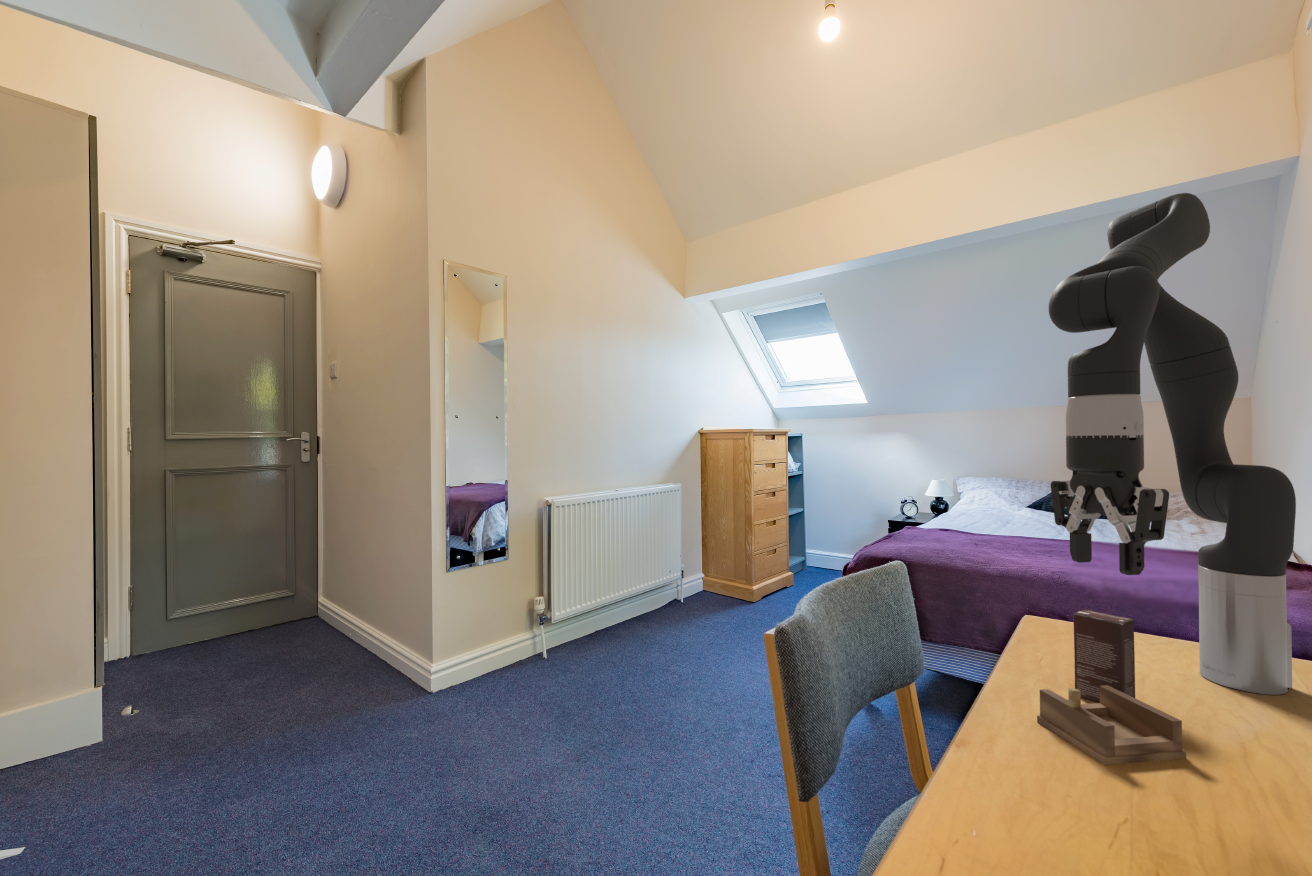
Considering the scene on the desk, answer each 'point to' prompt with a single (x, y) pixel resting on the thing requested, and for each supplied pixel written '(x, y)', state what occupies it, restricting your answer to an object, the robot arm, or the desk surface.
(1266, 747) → the desk surface
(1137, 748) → the drawer
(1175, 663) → the desk surface
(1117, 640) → the box
